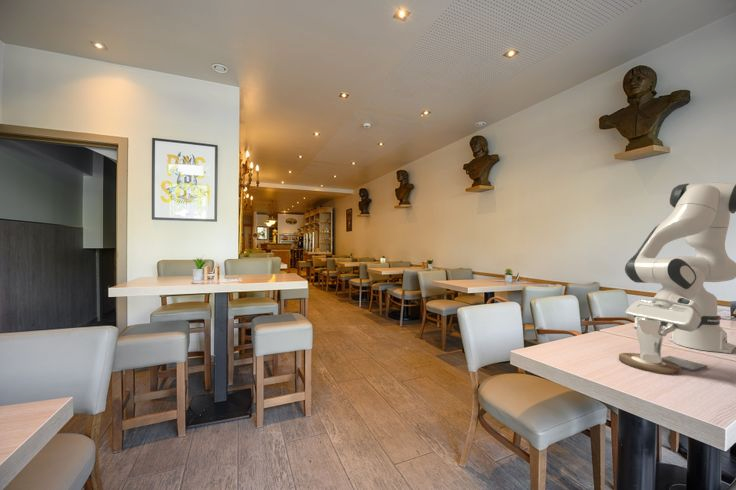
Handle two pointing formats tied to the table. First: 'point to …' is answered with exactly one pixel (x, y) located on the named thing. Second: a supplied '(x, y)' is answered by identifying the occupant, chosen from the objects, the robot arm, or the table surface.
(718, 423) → the table surface
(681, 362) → the square charcoal tile
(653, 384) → the table surface
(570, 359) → the table surface
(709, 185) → the robot arm
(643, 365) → the round walnut board
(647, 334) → the beer glass
